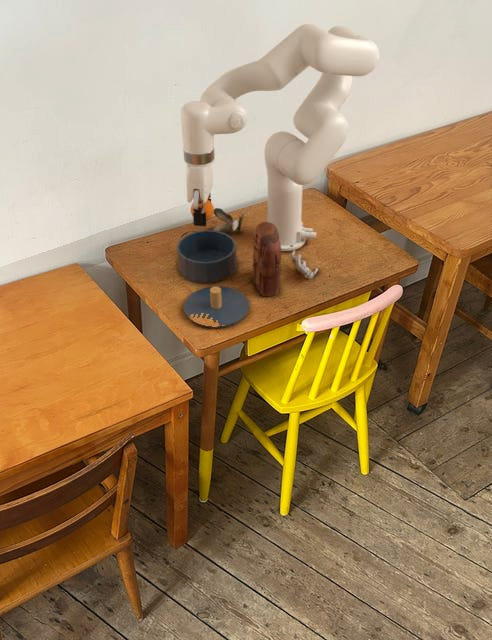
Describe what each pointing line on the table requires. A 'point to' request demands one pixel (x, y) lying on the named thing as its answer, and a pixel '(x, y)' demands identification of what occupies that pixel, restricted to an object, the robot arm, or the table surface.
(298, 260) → the soldier figure
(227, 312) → the pan lid
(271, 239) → the wooden figurine
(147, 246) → the table surface
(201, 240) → the dark blue round container
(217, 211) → the eagle figurine
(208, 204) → the orange ball
